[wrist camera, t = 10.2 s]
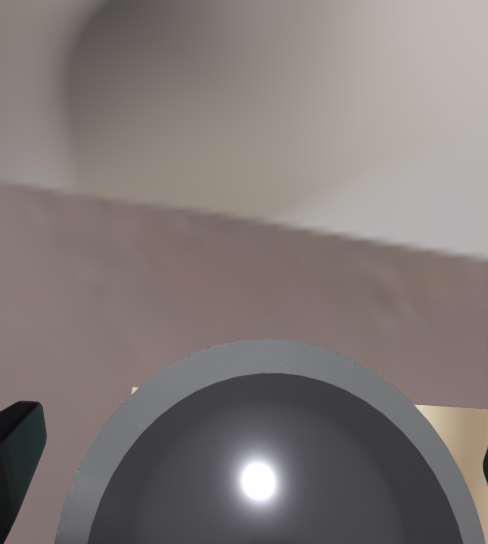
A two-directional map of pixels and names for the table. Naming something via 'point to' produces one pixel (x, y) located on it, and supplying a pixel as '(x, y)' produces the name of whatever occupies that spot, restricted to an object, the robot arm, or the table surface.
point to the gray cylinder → (268, 458)
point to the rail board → (463, 448)
